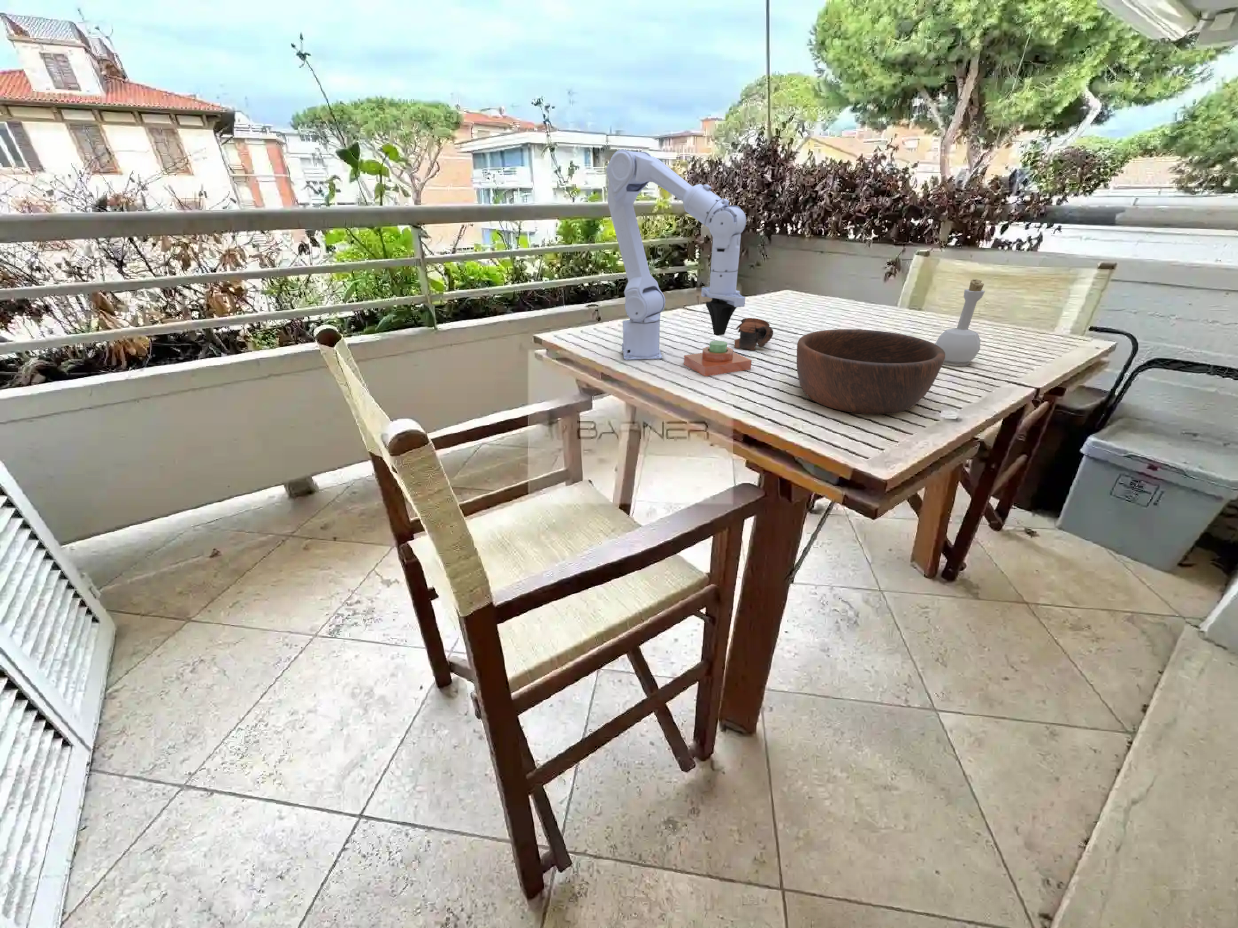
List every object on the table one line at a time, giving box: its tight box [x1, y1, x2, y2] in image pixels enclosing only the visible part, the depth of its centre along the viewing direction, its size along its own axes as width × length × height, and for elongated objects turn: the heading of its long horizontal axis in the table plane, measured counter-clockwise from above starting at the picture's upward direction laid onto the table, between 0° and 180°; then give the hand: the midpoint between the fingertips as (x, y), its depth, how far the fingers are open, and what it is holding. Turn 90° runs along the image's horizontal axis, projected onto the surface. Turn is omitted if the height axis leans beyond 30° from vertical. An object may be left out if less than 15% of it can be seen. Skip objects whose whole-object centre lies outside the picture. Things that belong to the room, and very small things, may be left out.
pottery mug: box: [734, 317, 774, 351], centre depth 126 cm, size 12×10×8 cm
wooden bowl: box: [796, 328, 945, 415], centre depth 92 cm, size 25×25×10 cm
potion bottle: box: [934, 278, 986, 367], centre depth 108 cm, size 9×9×18 cm
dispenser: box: [683, 346, 752, 377], centre depth 112 cm, size 12×10×4 cm
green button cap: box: [708, 340, 728, 353], centre depth 111 cm, size 4×4×2 cm
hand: (719, 334), depth 109 cm, fingers closed
